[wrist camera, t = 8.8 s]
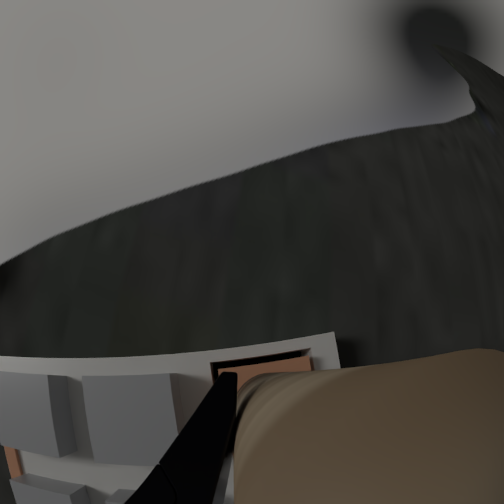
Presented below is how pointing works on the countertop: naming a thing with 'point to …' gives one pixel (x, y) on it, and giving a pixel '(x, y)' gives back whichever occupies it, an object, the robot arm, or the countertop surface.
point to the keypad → (111, 416)
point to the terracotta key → (269, 368)
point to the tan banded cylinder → (374, 433)
